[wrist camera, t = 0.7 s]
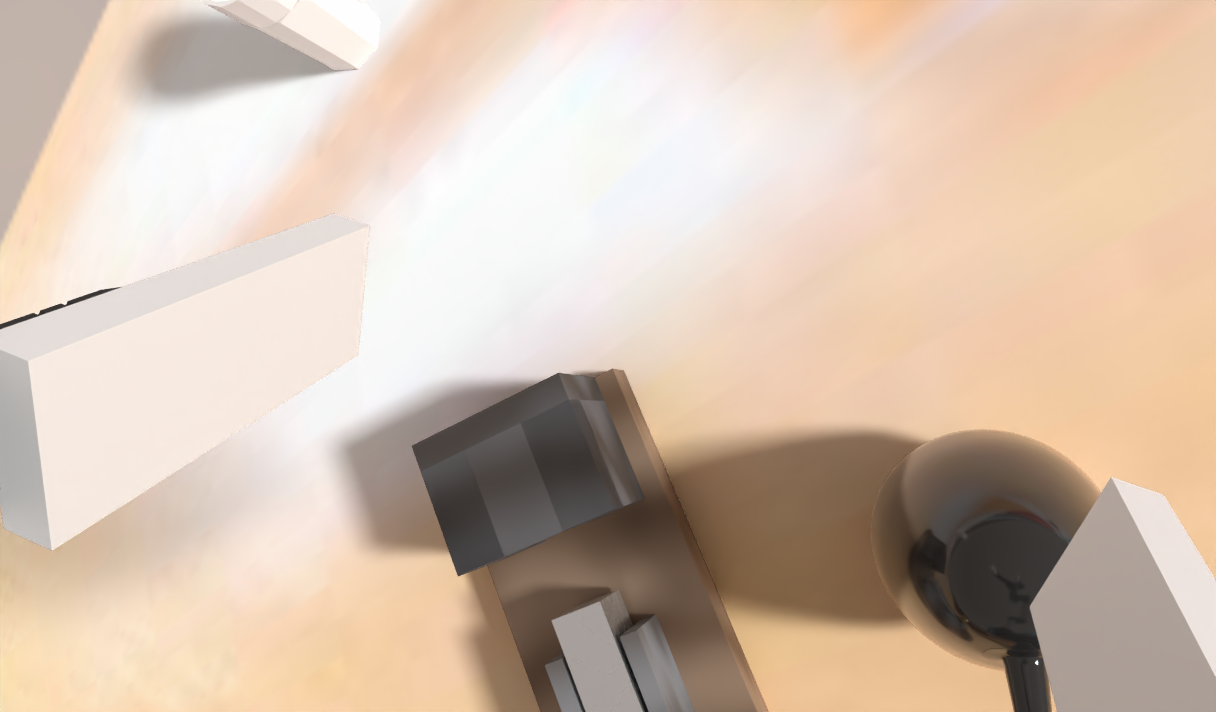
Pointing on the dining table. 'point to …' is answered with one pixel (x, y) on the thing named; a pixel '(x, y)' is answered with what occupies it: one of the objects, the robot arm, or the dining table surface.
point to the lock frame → (586, 540)
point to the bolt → (600, 654)
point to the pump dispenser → (979, 546)
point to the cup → (312, 26)
